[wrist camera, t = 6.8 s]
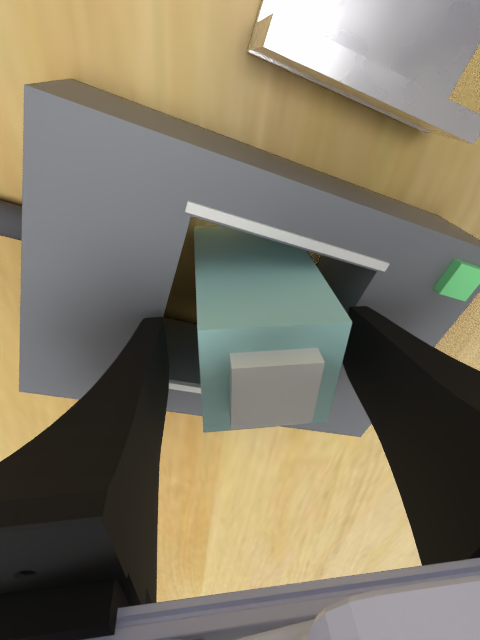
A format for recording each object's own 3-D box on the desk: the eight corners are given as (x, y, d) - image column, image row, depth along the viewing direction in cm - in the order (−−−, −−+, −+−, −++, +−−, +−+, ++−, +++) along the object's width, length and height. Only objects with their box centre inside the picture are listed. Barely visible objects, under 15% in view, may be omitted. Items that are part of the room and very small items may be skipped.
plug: (289, 224, 15) (361, 336, 9) (281, 304, 17) (333, 437, 11) (193, 226, 14) (198, 345, 8) (198, 308, 17) (204, 449, 11)
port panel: (441, 216, 15) (516, 262, 12) (333, 378, 21) (363, 444, 17) (71, 78, 11) (17, 84, 8) (52, 327, 16) (14, 399, 13)
